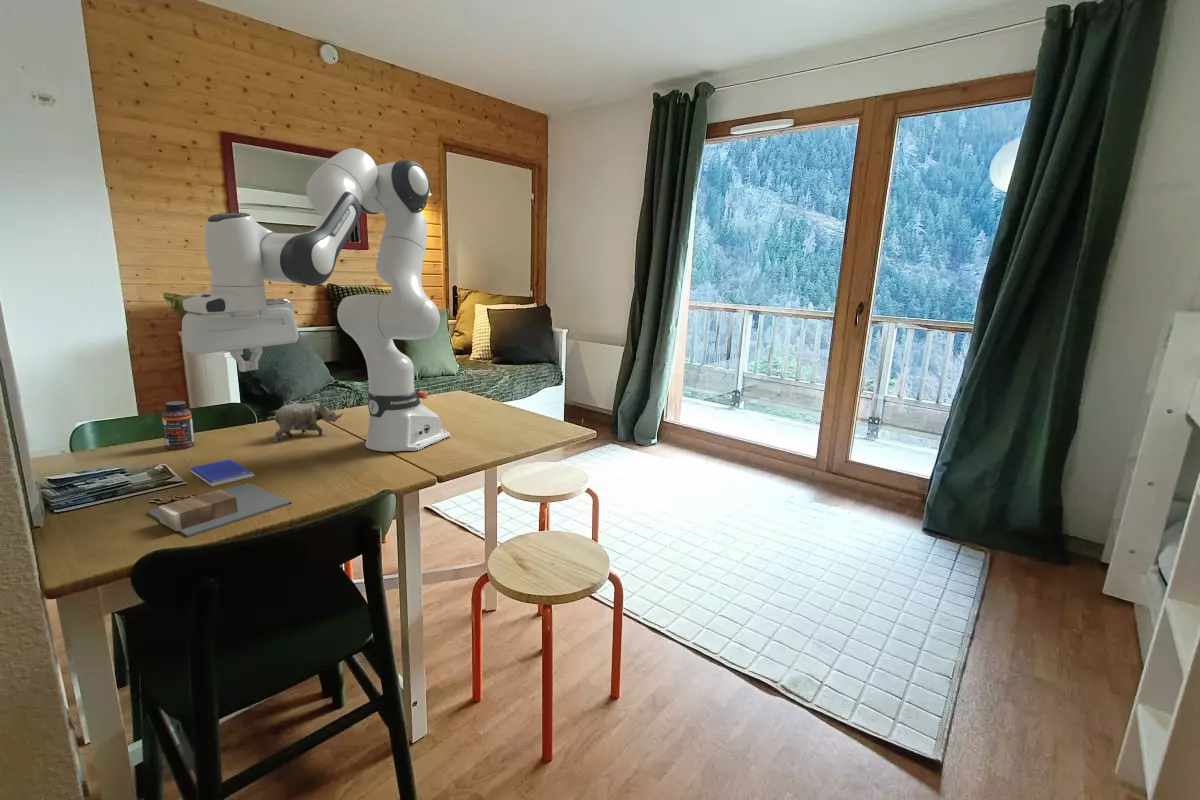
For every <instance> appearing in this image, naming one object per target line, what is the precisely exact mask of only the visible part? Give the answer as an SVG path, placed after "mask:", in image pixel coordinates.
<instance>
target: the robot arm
mask: <svg viewBox="0 0 1200 800" xmlns="http://www.w3.org/2000/svg"><path fill="white" fill-rule="evenodd" d="M307 181H308V182H307V184H306V195H307V198H308V201H309V203H310V204H311V207H312V208H313V209H314V210H315V211H316V212H317V213H318V214H319V215H320V216H321V217H322V218H321V219H320V220H319V222H318V224H317V225H316V226H315V228H314V229H312V230H310V231H305V232H301V233H300V232H299V233H281V232H274V231H272V230H270V229H268V228H266V227H264V226H263V225H261V224H259V222H257V221H256V220H255V219H254V217H253V215H252V214H249V213H247V212H223V213H222V212H221V213H217V214H213V215H211V216H208V217H207V219H206V221H205V224H204V247H205V256H206V257H205V258H206V262H207V264H208V267H209V269H210V274H211V276H210V281H209V284H210V290H209V291H206V292H204V293H201V294H198V295H195V296H193V297H188V298H186V299H184V300H183V301H182V307H183V309H184V311H186V312H187V313H186V314H184V316H183V318H182V320H181V337H182V338H181V339H182V345H183V348H184V350H185V351H187V353H190V354H193V355H204V354H214V353H222V352H228V351H229V354H230V356H231V357H232V358H233V359H234V360H235V362H236V363H237V366H238V368H237V369H238V371H239V372H242V373H244V372H245V373H246V372H250V371H256V370H259V361H260V358H261V357H262V354H263V347H270V346H271V347H272V346H279V345H286V344H287V345H288V344H294V343H295V344H296V343H297V341H298V340H299V330H298V326H297V322H296V318H295V307H294V304H293V303H292V302H291V301H290V300H288V299H286V298H283V297H282V298H281V297H280V298H267V297H266V294H267V293H266V286H265V281H270V282H279V283H290V284H291V283H292V284H293V283H294V284H299V285H306V286H312V287H315V286H320V285H322V284H323V283H325V282H326V281H328V279H329V278H330V277H331V276H332V274H333V271H334V269H335V266H336V264H337V263H336V262H337V260H338V257H339V255H340V252H341V251H342V249H343V247H344V246H345V244H346V243H347V241H348V239H349V238H350V236H351V235H352V233H353V232H354V229H355V228H356V226H357V225H358V222H359V220H360V217H361V215H362V213H363V214H366V215H378V214H382V213H383V214H384V219H385V220H384V221H385V226H384V228H383V231H382V235H381V239H380V244H379V249H378V253H377V258H376V262H375V263H376V264H375V270H376V272H377V275H378V276H379V278H380V279H381V280H382V281H383V282H385V283H386V284H388V285H390V286H391V291H390V293H389V294H379V293H378V294H375V293H361V294H359V293H358V294H354V295H348V296H345V297H344V298H343V299H341V301H340V303H339V304H338V307H337V314H336V316H337V321H338V324H339V326H340V328H341V329H342V330H343V331H344V332H345V333H346V334H347V335H349V336H350V337H351V338H352V339H353V340H354V341H355V343H356V344H357V345H358V347H359V349H360V351H361V353H362V355H363V358H364V359H365V363H366V369H367V377H368V380H367V381H368V390H369V391H368V392H367V407H368V412H369V419H368V420H369V422H368V431H367V436H366V441H365V444H364V446H365V448H367V449H369V450H372V451H377V452H378V451H379V452H402V451H407V452H417V450H418V451H420V449H421V450H423V449H425V448H424V447H426V446H428V445H430V444H433V443H435V442H437V441H439V440H442V439H444V438H446V437H448V436H450V437H451V433H450V432H449V431H448V430H446V429H443V428H442V422H441V418H440V416H438V413H435V412H434V411H432V410H431V409H430V408H428V407H426V406H425V405H424V404H423V403H421V401H420V399H422V400H426V399H427V398H428V396H429V395H428V393H427V391H422V390H420V391H417V390H415V373H414V372H415V368H414V363H413V361H412V360H411V358H410V357H409V356H408V355H406V354H404V353H402V352H401V351H400V350H399V349H398V347H396V344H395V342H394V340H402V341H403V340H405V341H415V340H417V341H418V340H423V339H428V338H429V339H430V338H432V337H433V336H434V335H435V334H436V333H437V331H438V329H439V327H440V324H441V323H440V322H441V316H440V311H439V309H438V307H437V305H436V304H435V303H434V301H432V300H431V299H430V298H429V296H427V294H426V292H425V291H424V287H423V283H422V272H423V267H424V266H423V265H424V260H425V256H426V255H425V254H426V249H427V239H428V238H427V237H428V224H427V220H426V217H425V215H424V214H423V213H422V212H423V211H424V210H425V208H426V207H427V204H428V198H429V195H430V185H431V184H430V180H429V176H428V173H427V172H426V170H425V169H424V168H423V166H422V165H421V164H419V163H418V162H416V161H413V160H407V159H404V160H402V159H401V160H398V161H396V162H395V161H394V162H386V163H382V164H379V165H376V162H375V160H374V159H373V158H372V157H371V155H369V154H368V153H367V152H366V151H363V150H361V149H359V148H354V147H353V148H352V147H349V148H345V149H344V150H341V151H340V152H338V153H336V154H334V155H333V156H332V157H330V158H329V159H327V161H325V162H323V164H322V165H321V166H320V167H318V168H317V169H316V170H315V171H314V172H313V174H312V175H311V176H310V178H309V179H308V180H307ZM247 349H249V352H250V353H251V356H250V358H249V360H244V358H243V357H242V355H244V350H247ZM444 440H445V439H444ZM442 441H443V440H442ZM437 443H438V442H437ZM435 444H436V443H435ZM433 445H434V444H433ZM430 446H431V445H430ZM428 447H429V446H428ZM422 448H423V449H422ZM426 448H427V447H426Z"/></svg>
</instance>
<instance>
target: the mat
mask: <svg viewBox="0 0 1200 800" xmlns="http://www.w3.org/2000/svg"><path fill="white" fill-rule="evenodd" d="M221 490H222V491H224V492H226V493H229V494H231V495H233V496H235V497H236V501H237V510H238V512H236V513H233V514H230V515H227V516H223V517H220V518H217V519H214V520H211V521H207V522H204V523H201V524H198V525H195V526H191V527H188V528H185V529H182V530H179V531H177V532H178V533H179V534H182V535H184V536H185V537H186V538H191V537H192V536H195V535H198V534H201V533H205V532H208V531H210V530H211V531H212V530H214V529H217V528H220V527H223V526H226V525H229V524H233V523H235V522H239V521H241V520H244V519H247V518H252V517H254V516H256V515H259V514H263V513H267V512H270V511H273V510H275V509H278V507H279V508H281V506H282V507H285V506H288V505H290V504H289V503H291V504H292V500H289V499H287V498H284V497H282V496H280V495H277V494H276V493H272V492H270V491H268V490H267V489H266V490H265V489H263V488H260V487H259V486H257V485H254V484H252V483H249V482H247V483H244V484H240V485H239V484H238V485H236V486H232V487H229V488H226V489H221ZM287 504H288V505H287ZM284 505H285V506H284ZM146 514H147V515H149V516H150V517H152V518H155V519H156V520H157V521H160V516H159V509H158V507H157V508H152V509H149V510H146Z"/></svg>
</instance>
